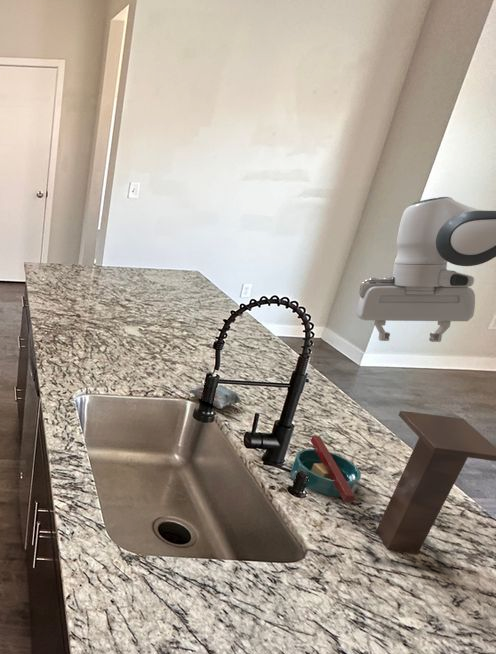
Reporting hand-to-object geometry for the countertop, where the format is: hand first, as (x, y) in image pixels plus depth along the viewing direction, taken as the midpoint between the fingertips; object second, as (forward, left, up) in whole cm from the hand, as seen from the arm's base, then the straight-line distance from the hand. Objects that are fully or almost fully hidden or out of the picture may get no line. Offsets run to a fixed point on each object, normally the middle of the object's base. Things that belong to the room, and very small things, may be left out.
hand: (408, 341), depth 118 cm
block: (+15, +16, -29) cm, 36 cm away
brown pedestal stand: (+8, +34, -30) cm, 46 cm away
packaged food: (+33, -16, -30) cm, 47 cm away
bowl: (+15, +16, -30) cm, 37 cm away
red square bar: (+15, +18, -25) cm, 34 cm away
